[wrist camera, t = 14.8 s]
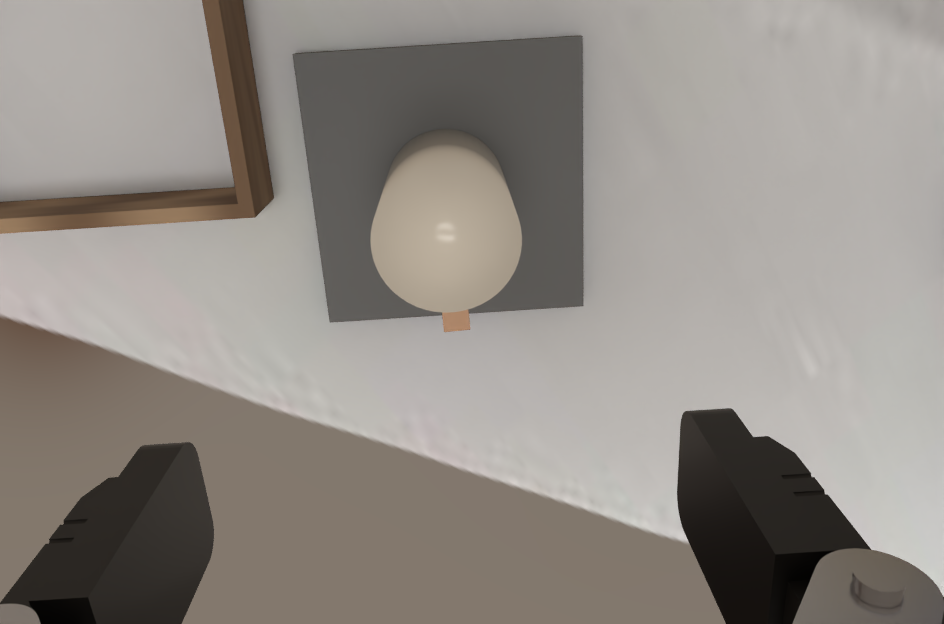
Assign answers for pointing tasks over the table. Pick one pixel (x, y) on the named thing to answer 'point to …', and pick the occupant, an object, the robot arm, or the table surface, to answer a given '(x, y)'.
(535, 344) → the table surface
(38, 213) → the holder
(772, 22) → the table surface
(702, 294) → the table surface
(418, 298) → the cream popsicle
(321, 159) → the mat
